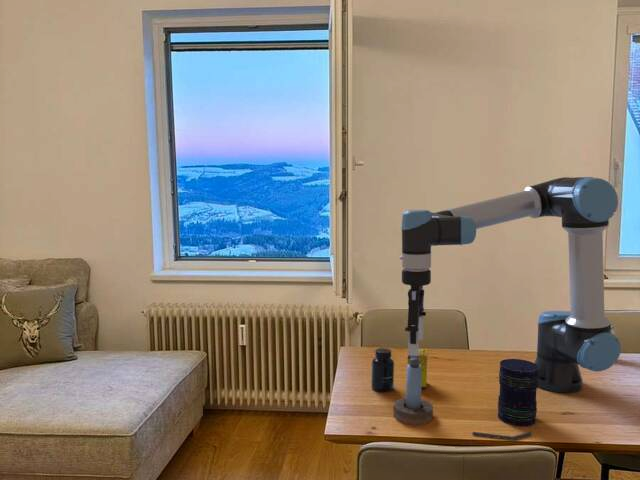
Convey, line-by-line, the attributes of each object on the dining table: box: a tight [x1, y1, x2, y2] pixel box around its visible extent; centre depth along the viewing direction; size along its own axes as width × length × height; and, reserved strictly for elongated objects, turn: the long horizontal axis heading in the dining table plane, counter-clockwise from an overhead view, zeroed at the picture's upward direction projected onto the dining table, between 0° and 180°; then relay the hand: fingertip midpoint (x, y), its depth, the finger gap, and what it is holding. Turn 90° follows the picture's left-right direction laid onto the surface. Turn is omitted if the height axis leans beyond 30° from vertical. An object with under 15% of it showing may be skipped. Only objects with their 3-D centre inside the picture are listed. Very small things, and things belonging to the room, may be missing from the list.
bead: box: [393, 397, 434, 426], centre depth 144 cm, size 10×10×3 cm
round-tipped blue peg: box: [405, 358, 422, 410], centre depth 143 cm, size 4×4×16 cm
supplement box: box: [407, 348, 428, 390], centre depth 165 cm, size 6×6×11 cm
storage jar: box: [497, 358, 539, 428], centre depth 142 cm, size 10×10×15 cm
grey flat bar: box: [472, 431, 533, 441], centre depth 133 cm, size 14×4×1 cm, turn 75°
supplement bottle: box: [370, 347, 395, 393], centre depth 162 cm, size 7×7×12 cm
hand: (415, 347), depth 142 cm, fingers open, 13 cm apart
